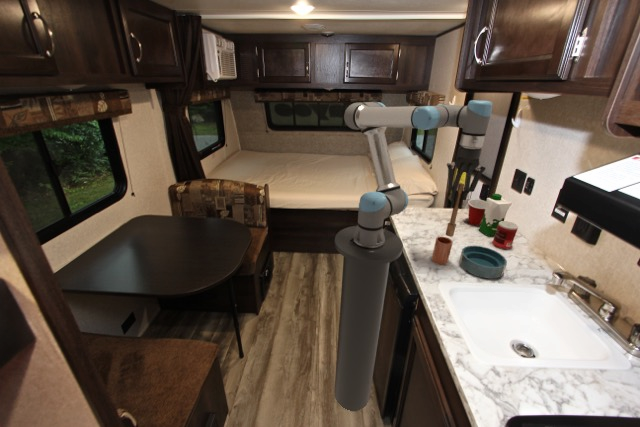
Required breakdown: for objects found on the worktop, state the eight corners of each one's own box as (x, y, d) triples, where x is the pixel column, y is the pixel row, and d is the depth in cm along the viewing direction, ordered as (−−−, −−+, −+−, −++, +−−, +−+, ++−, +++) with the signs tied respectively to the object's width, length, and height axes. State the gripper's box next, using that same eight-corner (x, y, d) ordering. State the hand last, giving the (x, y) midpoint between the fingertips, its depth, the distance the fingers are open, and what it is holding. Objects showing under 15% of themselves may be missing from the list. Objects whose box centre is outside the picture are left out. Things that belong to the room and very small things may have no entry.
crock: (432, 263, 123) (437, 243, 119) (430, 255, 128) (435, 235, 124) (448, 265, 122) (454, 245, 117) (446, 257, 127) (451, 237, 123)
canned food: (511, 244, 139) (518, 223, 134) (510, 251, 133) (517, 230, 128) (493, 239, 143) (499, 219, 138) (491, 246, 137) (498, 225, 132)
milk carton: (490, 228, 154) (501, 192, 145) (503, 236, 146) (515, 199, 137) (475, 229, 152) (486, 193, 144) (488, 237, 144) (499, 200, 136)
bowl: (463, 276, 115) (467, 264, 113) (455, 254, 130) (458, 243, 128) (508, 282, 112) (513, 270, 110) (495, 259, 127) (498, 248, 125)
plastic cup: (460, 223, 158) (465, 203, 153) (466, 217, 166) (471, 197, 161) (482, 229, 152) (488, 208, 147) (487, 222, 159) (493, 202, 154)
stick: (446, 236, 118) (458, 184, 109) (444, 232, 121) (456, 182, 112) (453, 237, 118) (466, 185, 108) (452, 233, 120) (464, 183, 111)
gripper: (450, 147, 102) (437, 208, 112) (496, 150, 99) (479, 213, 109) (446, 143, 109) (435, 201, 119) (489, 146, 106) (474, 205, 116)
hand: (456, 207), depth 114 cm, fingers closed on stick, 2 cm apart
